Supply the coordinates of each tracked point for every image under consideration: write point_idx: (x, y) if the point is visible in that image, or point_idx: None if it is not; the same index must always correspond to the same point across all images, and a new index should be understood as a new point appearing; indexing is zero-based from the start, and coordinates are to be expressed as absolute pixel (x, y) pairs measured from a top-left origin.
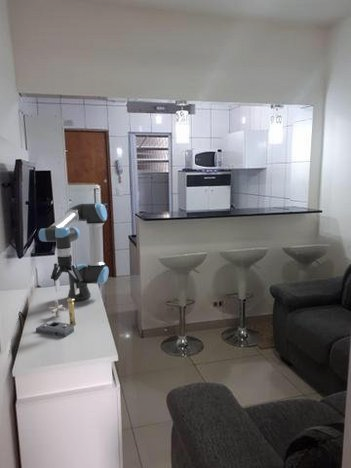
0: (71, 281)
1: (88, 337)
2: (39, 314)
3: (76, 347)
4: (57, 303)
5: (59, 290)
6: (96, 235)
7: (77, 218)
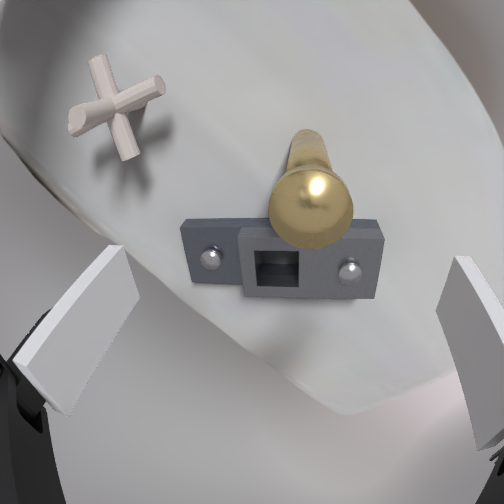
0: None
1: (464, 247)
2: (51, 131)
3: None
4: (96, 113)
5: (124, 261)
6: None
7: None
